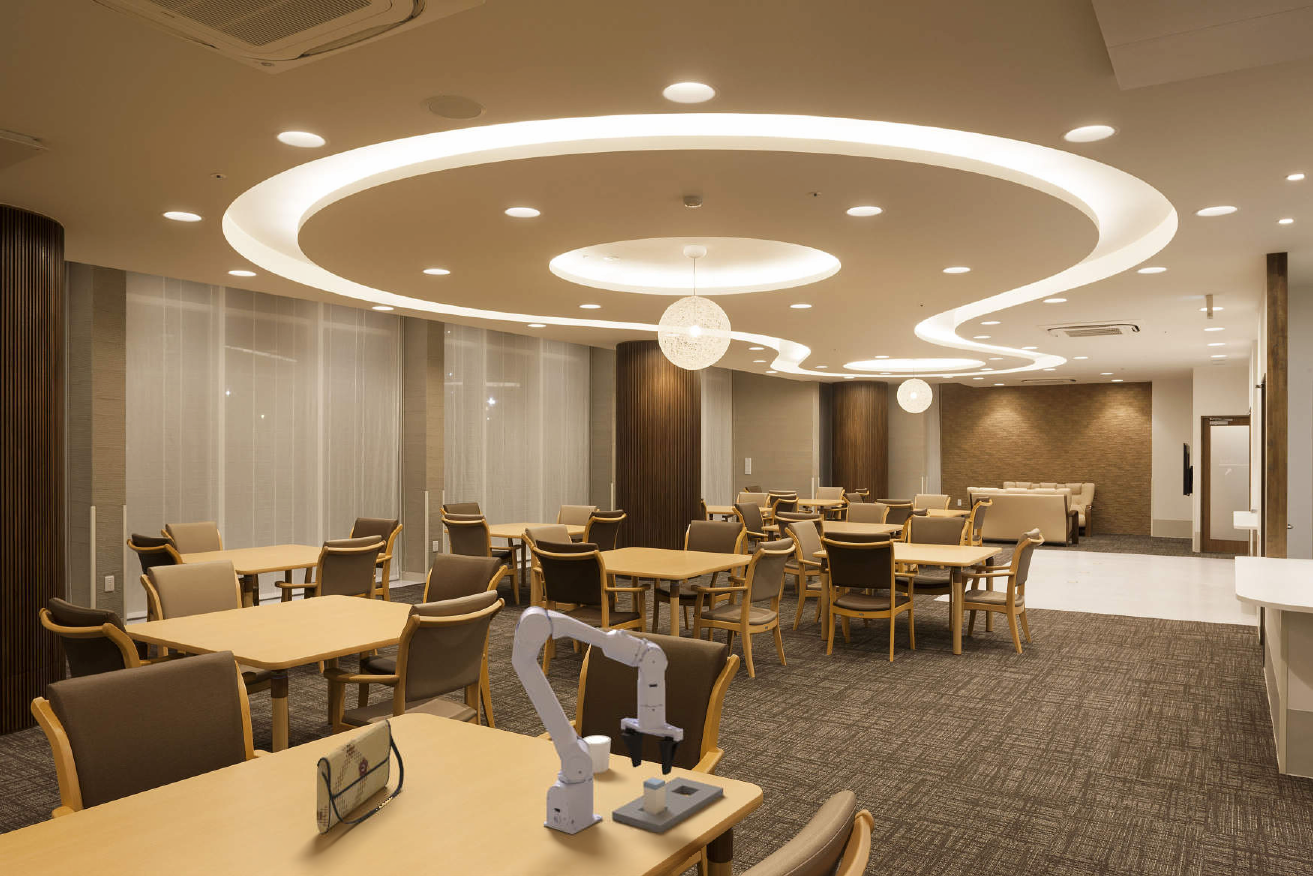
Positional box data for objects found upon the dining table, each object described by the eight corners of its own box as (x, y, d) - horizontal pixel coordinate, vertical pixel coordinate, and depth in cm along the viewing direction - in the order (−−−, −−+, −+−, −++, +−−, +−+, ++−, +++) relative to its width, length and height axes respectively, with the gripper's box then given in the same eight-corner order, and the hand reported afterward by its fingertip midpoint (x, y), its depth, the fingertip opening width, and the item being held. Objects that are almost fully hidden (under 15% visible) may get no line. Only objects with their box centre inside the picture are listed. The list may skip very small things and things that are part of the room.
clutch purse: (344, 839, 162) (345, 761, 163) (310, 837, 163) (311, 759, 164) (411, 783, 191) (411, 717, 192) (382, 782, 192) (383, 716, 193)
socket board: (660, 833, 163) (660, 826, 164) (612, 819, 170) (612, 811, 170) (723, 795, 183) (723, 788, 183) (678, 783, 190) (677, 777, 190)
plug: (656, 820, 170) (656, 785, 170) (643, 816, 172) (643, 782, 172) (665, 815, 173) (665, 780, 173) (652, 811, 174) (652, 777, 175)
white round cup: (613, 764, 203) (612, 735, 203) (608, 774, 196) (608, 744, 197) (585, 763, 204) (585, 734, 204) (579, 773, 197) (579, 743, 197)
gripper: (691, 704, 172) (691, 771, 171) (635, 693, 181) (635, 757, 180) (671, 712, 166) (672, 781, 166) (614, 701, 175) (614, 766, 174)
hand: (651, 769), depth 172 cm, fingers open, 7 cm apart
